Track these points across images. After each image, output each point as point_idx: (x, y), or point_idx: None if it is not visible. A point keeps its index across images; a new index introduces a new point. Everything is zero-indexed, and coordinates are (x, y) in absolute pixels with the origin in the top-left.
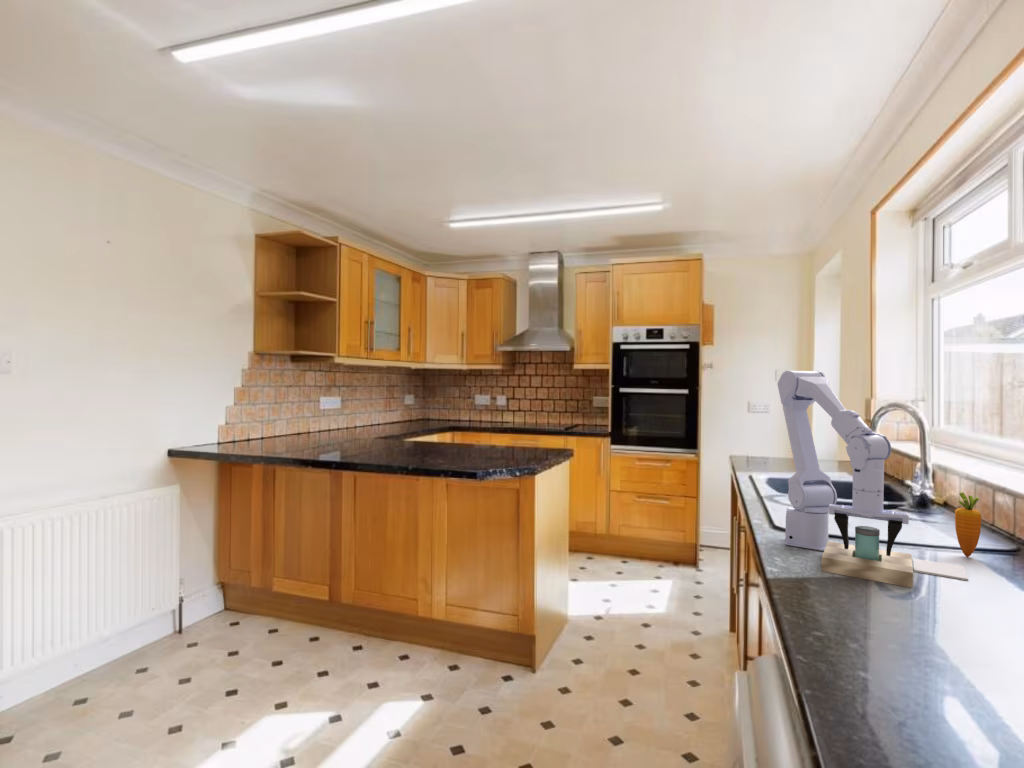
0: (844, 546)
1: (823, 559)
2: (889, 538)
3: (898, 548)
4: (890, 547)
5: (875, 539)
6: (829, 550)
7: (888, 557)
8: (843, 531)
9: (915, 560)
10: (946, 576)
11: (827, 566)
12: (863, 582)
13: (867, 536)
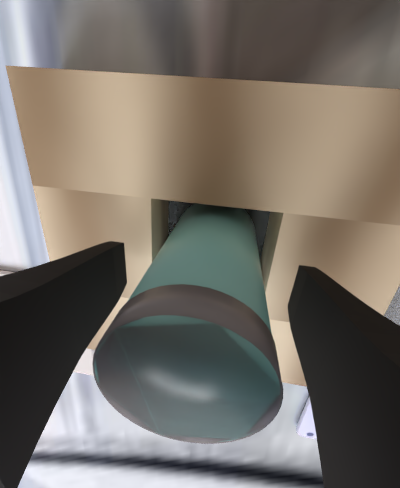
0: (322, 272)
1: None
2: (39, 278)
3: (134, 435)
4: (79, 253)
5: (142, 282)
6: (381, 269)
7: (129, 278)
8: (388, 330)
9: (88, 363)
10: (7, 272)
11: None
12: (243, 20)
13: (191, 281)
